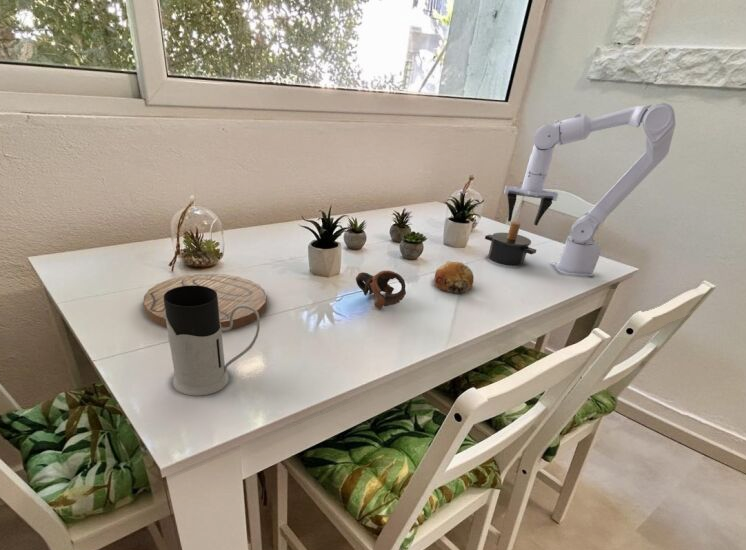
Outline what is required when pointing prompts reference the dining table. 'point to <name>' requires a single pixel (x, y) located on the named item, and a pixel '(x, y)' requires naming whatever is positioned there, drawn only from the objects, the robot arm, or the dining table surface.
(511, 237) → the lid
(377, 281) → the brown curved loop
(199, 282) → the trivet
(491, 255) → the pot
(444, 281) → the bread roll
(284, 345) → the dining table surface
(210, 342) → the glass holder
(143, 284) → the dining table surface
